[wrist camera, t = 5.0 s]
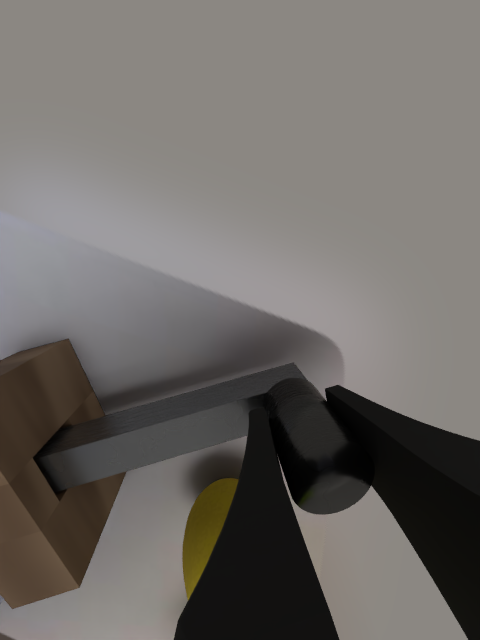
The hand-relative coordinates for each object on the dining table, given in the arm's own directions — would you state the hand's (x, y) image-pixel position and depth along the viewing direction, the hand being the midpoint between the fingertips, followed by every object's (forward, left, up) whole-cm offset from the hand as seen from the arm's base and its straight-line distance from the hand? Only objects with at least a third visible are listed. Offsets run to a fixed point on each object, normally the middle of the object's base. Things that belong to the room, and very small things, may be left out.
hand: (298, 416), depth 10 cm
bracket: (-13, 0, -6) cm, 14 cm away
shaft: (-6, 0, -3) cm, 7 cm away
